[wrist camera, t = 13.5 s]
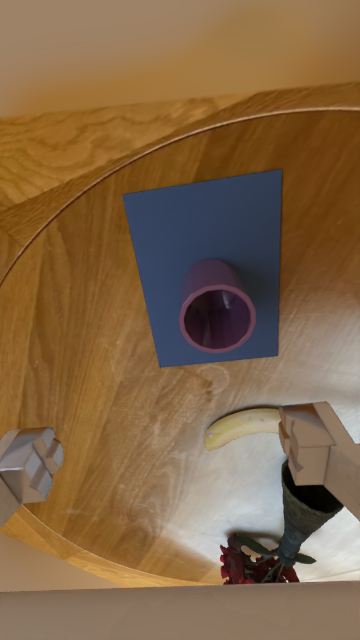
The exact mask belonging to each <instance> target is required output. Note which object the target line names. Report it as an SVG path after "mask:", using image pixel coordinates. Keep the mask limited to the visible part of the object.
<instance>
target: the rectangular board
mask: <svg viewBox="0 0 360 640" xmlns="http://www.w3.org/2000/svg"><path fill="white" fill-rule="evenodd" d="M281 183H282V169H278V170H272V171H266V172H260V173H254V174H247V175H241V176H235V177H229V178H223V179H216V180H210V181H204V182H198V183H192V184H185V185H179V186H173V187H167V188H161V189H154V190H148V191H142V192H136V193H130V194H123V200H124V204H125V209H126V214H127V218H128V223H129V227H130V232H131V237H132V241H133V246H134V250H135V255H136V260H137V264H138V269H139V273H140V278H141V283H142V287H143V292H144V297H145V301H146V306H147V310H148V315H149V320H150V324H151V329H152V333H153V338H154V343H155V347H156V352H157V356H158V361H159V366H160V368H161V367H172V366H182V365H192V364H202V363H212V362H223V361H233V360H243V359H253V358H263V357H274V356H278V316H279V272H280V228H281ZM204 259H219V260H222V261H224V262H226V263H228V264H229V265H230V266H231V267H232V268H233V269H234V270H235V272H236V273H237V275H238V277H239V279H240V281H241V283H242V285H243V286H244V288H245V290H246V292H247V294H248V296H249V298H250V300H251V302H252V303H253V305H254V307H255V310H256V324H255V327H254V329H253V331H252V333H251V336H250V337H249V338H248V339H247V340H246V341H245V342H244V343H243V344H242V345H241V346H239V347H237V348H235V349H232V350H230V351H228V352H221V353H210V352H205V351H201V350H199V349H197V348H196V347H194V346H192V345H191V344H189V343H188V342H187V340H186V339H185V337H184V336H183V334H182V333H181V330H180V324H179V309H180V297H181V286H182V281H183V278H184V275H185V273H186V272H187V270H188V269H189V268H190V267H191V266H192V265H194V264H195V263H197V262H199V261H201V260H204Z"/></svg>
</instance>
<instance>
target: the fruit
mask: <svg viewBox="0 0 360 640" xmlns="http://www.w3.org/2000/svg"><path fill="white" fill-rule="evenodd" d="M280 421H281V419H280V416H279V410H277V409H267V408H261V409H251V410H245V411H241V412H237V413H234V414H231V415H229V416H226V417H224V418H222V419H220V420H218V421H217V422H215V423H214V424H213V425H212V426H210V427H209V429H208V430H207V431H206V432H205V439H204V443H205V448H206V450H207V451H212V450H215V449H218V448H220V447H222V446H224V445H225V444H227V443H229V442H230V441H232V440H234V439H237V438H239V437H242V436H245V435H250V434H255V433H277V434H279V431H278V423H279V422H280Z"/></svg>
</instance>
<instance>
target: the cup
mask: <svg viewBox="0 0 360 640" xmlns="http://www.w3.org/2000/svg"><path fill="white" fill-rule="evenodd" d="M179 324H180V330H181V333H182V334H183V336H184V337H185V339H186V340H187V342H188V343H189V344H191V345H192V346H194V347H196V348H197V349H199V350H201V351H205V352H210V353H221V352H228V351H230V350H232V349H235V348H237V347H239V346H241V345H242V344H243V343H244V342H245V341H246V340H247V339H248V338H249V337H250V336H251V333H252V331H253V329H254V327H255V324H256V310H255V307H254V305H253V303H252V302H251V300H250V298H249V296H248V294H247V292H246V290H245V288H244V286H243V285H242V283H241V281H240V279H239V277H238V275H237V273H236V272H235V270H234V269H233V268H232V267H231V266H230V265H229V264H228V263H226V262H224V261H222V260H219V259H204V260H201V261H199V262H197V263H195V264H194V265H192V266H191V267H190V268H189V269H188V270H187V272H186V273H185V275H184V278H183V281H182V286H181V297H180V309H179Z"/></svg>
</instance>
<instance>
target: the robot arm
mask: <svg viewBox="0 0 360 640" xmlns="http://www.w3.org/2000/svg"><path fill="white" fill-rule="evenodd" d="M279 416H280V419H281V421H280V422H279V423H278V431H279V438H280V442H281V445H282V448H283V451H284V453H285V454H286V455H288V456H289V464H288V465H289V468H290V471H291V474H292V476H293V479H294V482H295V485H324V486H325V487H326V488H327V489H328V490H329V491H330V492H331V493H332V494H333V495H334V496H335V497H336V498H337V499H338V500H339V501H340V502H341V503H342V504H343V505H344V506H345V507H346V508H347V509H348V510H349V511H350V512H351V513H352V514H353V515H354V516H355V517H356V518H357V519H358V520H359V521H360V444H355V443H354V441H353V440H352V438H351V436H350V435H349V433H348V432H347V430H346V429H345V427H344V426H343V424H342V423H341V421H340V419H339V418H338V416H337V415H336V413H335V412H334V410H333V409H332V407H331V406H330V404H329V403H328V402H316V403H304V404H294V405H285V406H280V407H279ZM55 435H56V433H55V431H54V429H53V428H52V427H42V428H26V429H14V430H10V431H8V432H7V433H5V435H4V436H3V438H2V439H1V440H0V528H1V527H2V526H3V525H4V524H5V523H6V522H7V520H8V519H9V518H10V517H11V516H12V515H13V514H14V513H15V512H16V511H17V509H18V508H19V507H20V506H21V504H24V503H34V502H45V500H46V498H47V496H48V493H49V491H50V489H51V487H52V484H53V482H54V481H53V475H54V474H55V473H56V472H57V471H58V470H59V468H60V466H61V464H62V461H63V454H64V451H63V446H62V444H61V442H60V441H58V440H57V439H55V438H54V437H55ZM0 640H360V581H329V582H298V583H267V584H236V585H205V586H174V587H143V588H112V589H81V590H51V591H20V592H0Z"/></svg>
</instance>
